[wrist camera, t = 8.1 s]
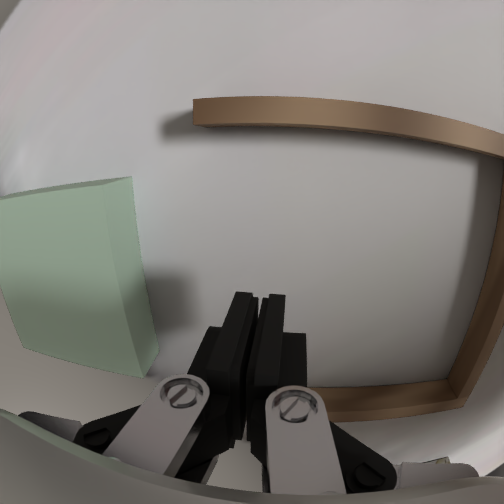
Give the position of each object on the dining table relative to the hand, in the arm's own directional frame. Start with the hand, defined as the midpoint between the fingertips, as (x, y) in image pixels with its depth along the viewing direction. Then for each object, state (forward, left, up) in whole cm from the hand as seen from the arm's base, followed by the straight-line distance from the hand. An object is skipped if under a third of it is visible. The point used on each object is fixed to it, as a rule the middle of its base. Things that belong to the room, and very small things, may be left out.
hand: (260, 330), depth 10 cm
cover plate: (+11, 0, -5) cm, 12 cm away
